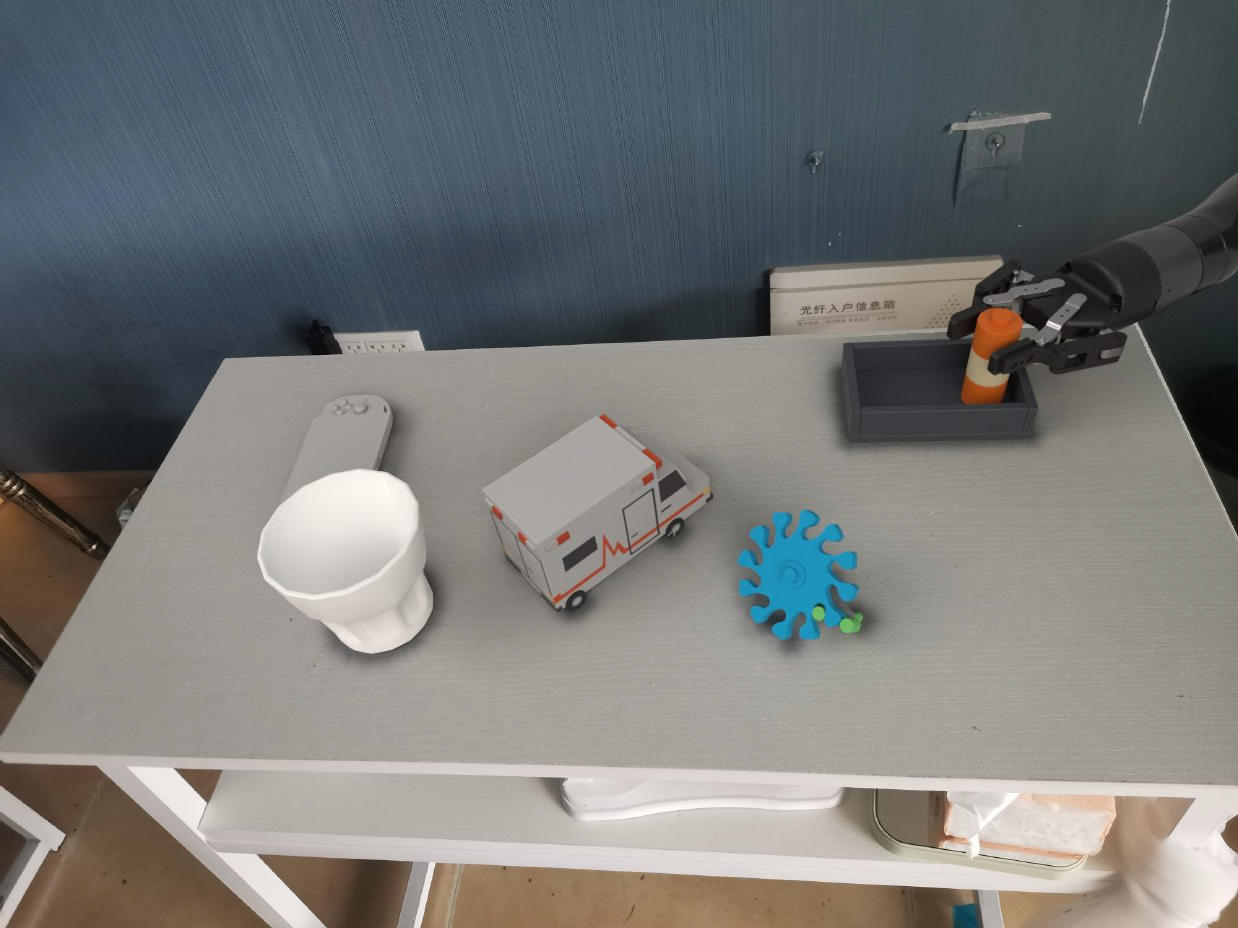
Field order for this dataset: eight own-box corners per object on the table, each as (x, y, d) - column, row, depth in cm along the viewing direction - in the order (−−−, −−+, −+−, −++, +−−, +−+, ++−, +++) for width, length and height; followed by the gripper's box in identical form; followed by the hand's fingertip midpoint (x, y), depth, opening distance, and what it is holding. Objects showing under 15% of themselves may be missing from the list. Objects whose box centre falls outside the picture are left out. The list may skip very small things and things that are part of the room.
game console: (351, 528, 78) (263, 531, 79) (360, 545, 80) (274, 548, 81) (395, 389, 90) (319, 393, 91) (402, 406, 92) (327, 410, 93)
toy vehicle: (722, 511, 77) (717, 432, 70) (565, 628, 71) (542, 554, 64) (651, 455, 83) (640, 376, 76) (500, 559, 77) (472, 484, 70)
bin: (1007, 367, 85) (1015, 336, 82) (1029, 439, 79) (1039, 408, 76) (840, 372, 87) (843, 342, 85) (849, 442, 81) (852, 413, 78)
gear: (710, 571, 71) (789, 481, 67) (748, 571, 76) (824, 486, 72) (798, 681, 65) (889, 588, 62) (833, 674, 70) (921, 587, 66)
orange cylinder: (1011, 400, 81) (1034, 317, 74) (980, 417, 80) (1001, 334, 73) (981, 379, 83) (1001, 296, 76) (952, 395, 82) (969, 313, 75)
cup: (281, 645, 74) (221, 567, 66) (371, 534, 81) (327, 451, 73) (400, 698, 69) (351, 621, 61) (484, 575, 76) (451, 491, 68)
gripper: (1078, 207, 81) (922, 270, 78) (1211, 286, 72) (1040, 361, 68) (1059, 275, 86) (912, 336, 83) (1179, 356, 77) (1020, 429, 74)
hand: (971, 347), depth 76 cm, fingers open, 4 cm apart
